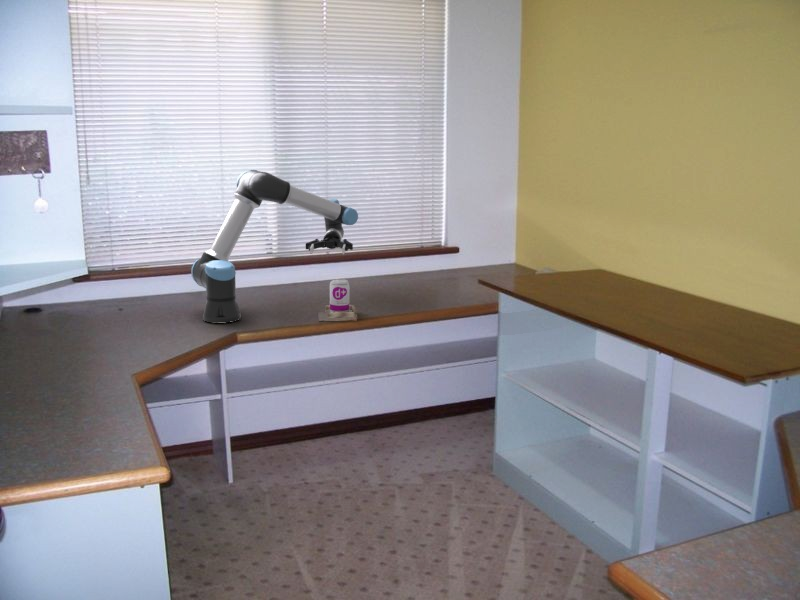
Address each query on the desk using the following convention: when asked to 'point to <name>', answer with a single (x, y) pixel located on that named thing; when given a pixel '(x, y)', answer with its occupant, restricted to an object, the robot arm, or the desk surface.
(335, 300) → the supplement can
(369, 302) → the desk surface
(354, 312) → the dock
